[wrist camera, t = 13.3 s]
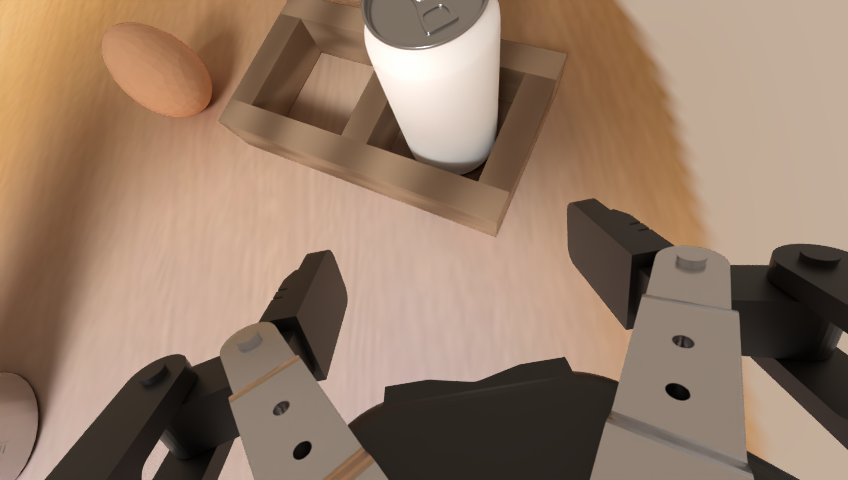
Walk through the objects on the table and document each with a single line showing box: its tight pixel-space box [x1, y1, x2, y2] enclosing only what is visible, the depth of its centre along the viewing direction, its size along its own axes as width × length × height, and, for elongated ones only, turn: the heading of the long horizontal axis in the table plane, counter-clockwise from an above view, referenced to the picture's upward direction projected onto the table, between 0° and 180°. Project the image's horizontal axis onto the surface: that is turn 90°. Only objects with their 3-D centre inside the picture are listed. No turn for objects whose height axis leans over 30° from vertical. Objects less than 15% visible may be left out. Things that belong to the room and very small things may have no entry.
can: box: [361, 0, 501, 175], centre depth 20 cm, size 6×6×12 cm
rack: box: [218, 0, 567, 237], centre depth 26 cm, size 22×12×4 cm, turn 66°
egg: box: [101, 23, 212, 117], centre depth 28 cm, size 6×6×8 cm
